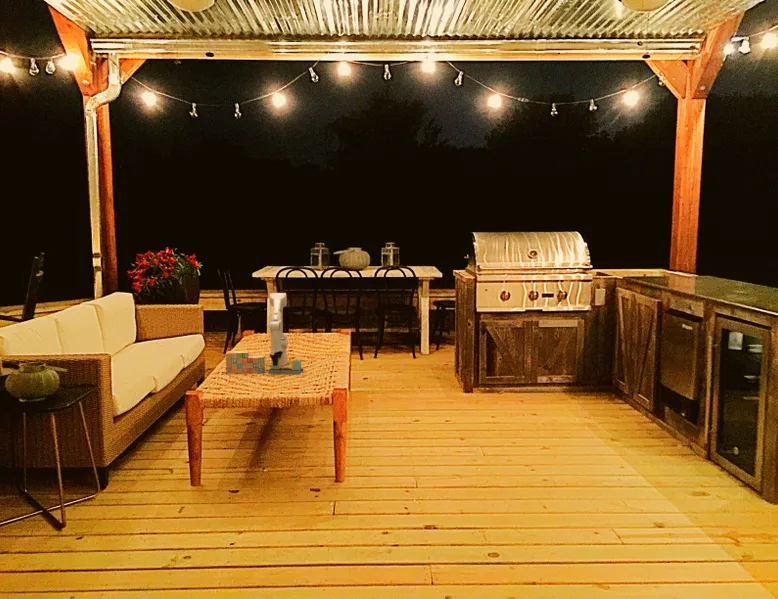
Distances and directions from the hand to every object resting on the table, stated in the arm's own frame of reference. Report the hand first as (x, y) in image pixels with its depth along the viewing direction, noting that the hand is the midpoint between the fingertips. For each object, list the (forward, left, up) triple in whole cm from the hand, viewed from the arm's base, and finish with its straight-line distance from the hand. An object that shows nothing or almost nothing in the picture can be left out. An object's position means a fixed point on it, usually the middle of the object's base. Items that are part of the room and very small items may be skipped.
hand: (276, 364), depth 372 cm
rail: (0, +6, -4) cm, 7 cm away
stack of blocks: (+2, -18, -5) cm, 19 cm away
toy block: (0, 0, -2) cm, 2 cm away
